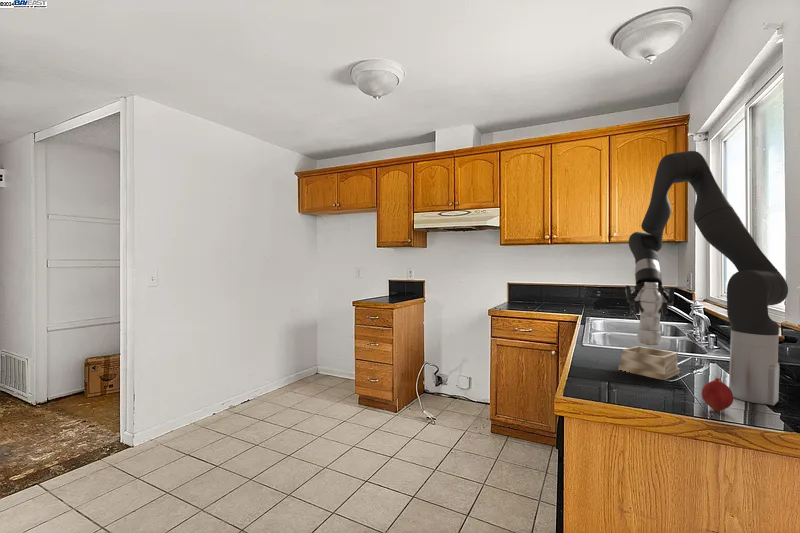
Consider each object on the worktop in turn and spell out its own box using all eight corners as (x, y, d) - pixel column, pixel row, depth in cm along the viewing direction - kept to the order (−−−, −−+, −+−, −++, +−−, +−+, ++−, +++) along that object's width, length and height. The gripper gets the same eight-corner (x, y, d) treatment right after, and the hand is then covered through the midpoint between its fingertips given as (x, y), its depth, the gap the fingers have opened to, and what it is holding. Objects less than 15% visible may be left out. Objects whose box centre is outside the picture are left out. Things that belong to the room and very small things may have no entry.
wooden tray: (679, 373, 125) (680, 352, 125) (664, 380, 117) (665, 358, 117) (635, 364, 136) (635, 345, 135) (618, 370, 127) (619, 350, 127)
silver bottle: (646, 342, 131) (649, 281, 130) (666, 346, 124) (668, 283, 124) (632, 343, 129) (634, 281, 128) (651, 347, 122) (653, 283, 122)
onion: (696, 405, 96) (698, 372, 96) (725, 408, 95) (726, 375, 95) (707, 414, 91) (708, 379, 91) (738, 417, 89) (739, 382, 89)
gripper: (624, 266, 136) (625, 304, 125) (675, 267, 129) (680, 307, 119) (623, 281, 141) (624, 318, 130) (671, 283, 134) (676, 322, 124)
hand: (651, 313), depth 125 cm, fingers closed on silver bottle, 6 cm apart
